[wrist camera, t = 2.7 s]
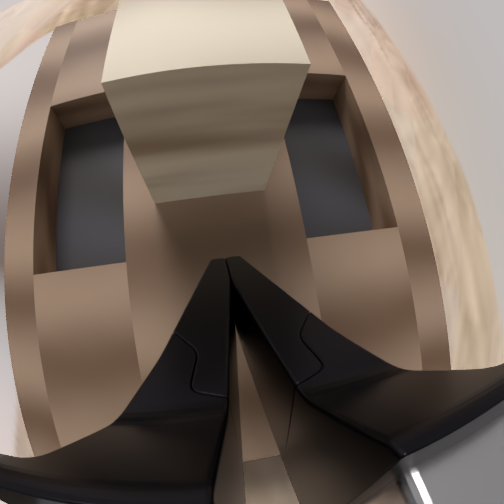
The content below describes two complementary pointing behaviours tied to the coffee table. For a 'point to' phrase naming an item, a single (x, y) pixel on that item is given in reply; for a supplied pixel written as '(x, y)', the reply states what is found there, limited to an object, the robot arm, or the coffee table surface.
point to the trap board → (203, 237)
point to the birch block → (203, 91)
